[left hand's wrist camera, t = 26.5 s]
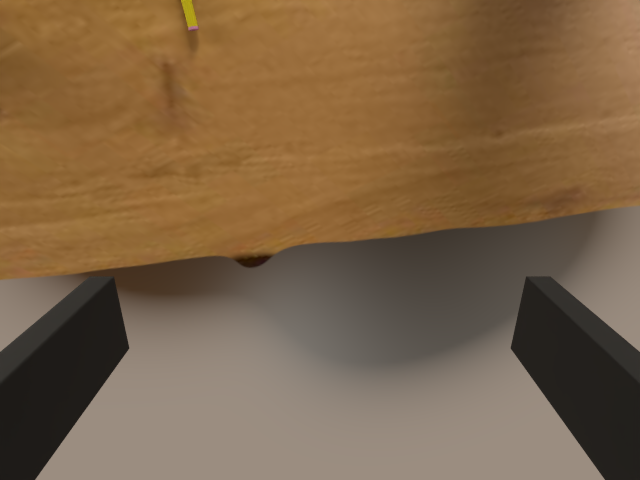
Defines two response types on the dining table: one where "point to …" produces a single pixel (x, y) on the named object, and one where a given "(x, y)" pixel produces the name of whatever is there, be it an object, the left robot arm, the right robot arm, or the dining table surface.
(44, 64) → the dining table surface
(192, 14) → the pencil
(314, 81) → the dining table surface
